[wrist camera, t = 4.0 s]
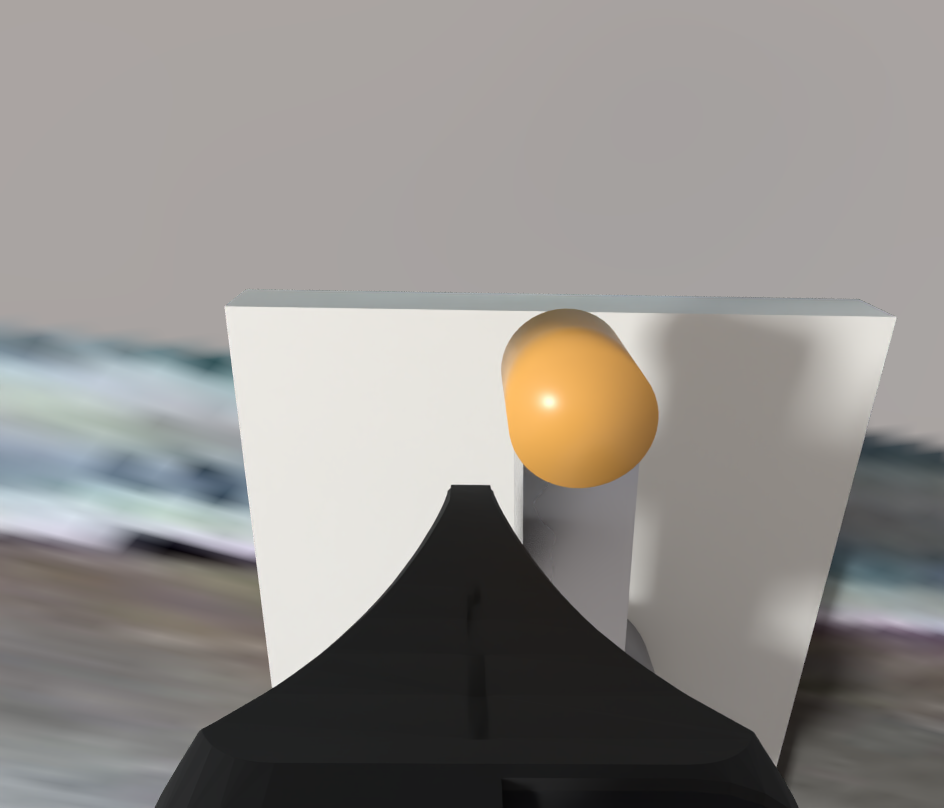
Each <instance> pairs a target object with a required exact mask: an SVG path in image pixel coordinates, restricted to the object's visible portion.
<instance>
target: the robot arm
mask: <svg viewBox="0 0 944 808" xmlns="http://www.w3.org/2000/svg"><path fill="white" fill-rule="evenodd" d="M155 808H799V807H798V805H797V803H796V801H795V799H794V797H793V795H792V793H791V792H790V790H789V788H788V786H787V785H786V783H785V781H784V780H783V778H782V776H781V774H780V773H779V771H778V769H777V768H776V766H775V765H774V763H773V761H772V760H771V758H770V757H769V755H768V754H767V752H766V750H765V749H764V747H763V746H762V744H761V742H760V741H759V739H758V738H757V736H756V734H755V733H754V732H753V731H751V730H750V729H748V728H746V727H744V726H742V725H741V724H739V723H737V722H735V721H733V720H732V719H730V718H728V717H726V716H724V715H723V714H721V713H719V712H717V711H715V710H714V709H712V708H710V707H708V706H706V705H705V704H703V703H701V702H699V701H697V700H696V699H694V698H692V697H690V696H688V695H687V694H685V693H684V692H682V691H680V690H679V689H677V688H676V687H674V686H673V685H671V684H670V683H668V682H667V681H665V680H664V679H662V678H661V677H659V676H658V675H656V674H655V673H653V672H652V671H650V670H649V669H647V668H646V667H644V666H643V665H642V664H640V663H639V662H638V661H636V660H635V659H633V658H632V657H631V656H629V655H628V654H627V653H626V652H624V651H623V650H622V649H621V648H619V647H618V646H617V645H616V644H614V643H613V642H612V641H611V640H609V639H608V638H607V637H606V636H605V635H603V634H602V633H601V632H600V631H598V630H597V629H596V628H595V627H594V626H593V625H592V624H591V623H590V622H588V621H587V620H586V619H585V618H584V617H583V616H582V615H581V614H580V613H579V612H578V611H577V610H576V609H575V608H574V607H573V606H572V605H571V604H570V603H569V601H568V600H567V599H566V598H565V597H564V596H563V595H562V594H561V593H560V592H559V590H558V589H557V588H556V587H555V586H554V585H553V584H552V582H551V581H550V580H549V579H548V577H547V576H546V575H545V574H544V572H543V571H542V570H541V569H540V568H539V566H538V565H537V564H536V562H535V561H534V560H533V558H532V557H531V556H530V554H529V553H528V551H527V550H526V548H525V547H524V545H523V544H522V543H521V541H520V540H519V538H518V537H517V535H516V534H515V532H514V531H513V529H512V527H511V526H510V524H509V522H508V521H507V519H506V517H505V515H504V514H503V512H502V510H501V508H500V506H499V504H498V502H497V500H496V497H495V495H494V492H493V490H492V489H491V486H490V485H451V488H450V489H449V490H448V491H447V496H446V498H445V501H444V503H443V506H442V508H441V510H440V512H439V514H438V516H437V518H436V519H435V521H434V523H433V525H432V527H431V528H430V530H429V531H428V533H427V535H426V536H425V538H424V540H423V541H422V543H421V544H420V546H419V548H418V549H417V550H416V552H415V553H414V555H413V556H412V557H411V559H410V560H409V561H408V563H407V564H406V566H405V567H404V568H403V570H402V571H401V572H400V574H399V575H398V576H397V578H396V579H395V580H394V581H393V583H392V584H391V585H390V586H389V587H388V589H387V590H386V591H385V592H384V593H383V594H382V595H381V597H380V598H379V599H378V600H377V601H376V602H375V603H374V604H373V605H372V606H371V607H370V608H369V609H368V611H367V612H366V613H365V614H364V615H363V616H362V617H361V618H360V619H359V620H358V621H356V622H355V623H354V624H353V625H352V626H351V627H350V628H349V629H348V630H347V631H346V632H345V633H344V634H343V635H341V636H340V637H339V638H338V639H337V640H336V641H335V642H334V643H333V644H331V645H330V646H329V647H328V648H327V649H326V650H324V651H323V652H322V653H321V654H319V655H318V656H317V657H316V658H314V659H313V660H312V661H310V662H309V663H308V664H306V665H305V666H303V667H302V668H301V669H299V670H298V671H297V672H295V673H294V674H293V675H291V676H290V677H288V678H287V679H285V680H284V681H283V682H281V683H280V684H278V685H277V686H275V687H274V688H272V689H270V690H269V691H267V692H266V693H264V694H263V695H261V696H259V697H257V698H256V699H254V700H252V701H251V702H249V703H247V704H245V705H244V706H242V707H240V708H239V709H237V710H235V711H233V712H232V713H230V714H228V715H227V716H225V717H223V718H221V719H220V720H218V721H216V722H214V723H213V724H211V725H209V726H207V727H205V728H203V729H201V730H200V731H199V732H198V734H197V736H196V737H195V739H194V741H193V742H192V744H191V745H190V747H189V749H188V750H187V752H186V754H185V755H184V757H183V759H182V760H181V762H180V763H179V765H178V767H177V769H176V770H175V772H174V774H173V775H172V777H171V779H170V780H169V782H168V784H167V785H166V787H165V789H164V790H163V792H162V794H161V796H160V798H159V800H158V802H157V804H156V806H155Z"/></svg>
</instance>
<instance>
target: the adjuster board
mask: <svg viewBox="0 0 944 808" xmlns="http://www.w3.org/2000/svg"><path fill="white" fill-rule="evenodd" d="M564 308H566V309H577V310H582V311H586V312H589V313H591V314H593V315H595V316H597V317H599V318H600V319H602V320H603V321H605V322H606V323H607V324H608V325H609V326H610V327H611V328H612V329H613V330H614V332H615V333H616V335H617V336H618V338H619V339H620V341H621V342H622V343H623V345H624V346H625V348H626V349H627V351H628V352H629V354H630V355H631V357H632V358H633V360H634V361H635V363H636V364H637V366H638V367H639V368H640V370H641V371H642V373H643V374H644V376H645V377H646V379H647V380H648V382H649V383H650V385H651V387H652V389H653V391H654V393H655V396H656V400H657V403H658V411H659V420H658V427H657V432H656V435H655V438H654V440H653V443H652V445H651V447H650V448H649V450H648V452H647V453H646V455H645V456H644V457H643V458H642V460H641V461H640V462H639V473H638V486H637V499H636V512H635V525H634V538H633V551H632V564H631V577H630V590H629V603H628V616H627V629H626V642H625V652H626V653H627V654H628V655H629V656H631V657H632V658H633V659H635V660H636V661H638V662H639V663H640V664H642V665H643V666H644V667H646V668H647V669H649V670H650V671H652V672H653V673H655V674H656V675H658V676H659V677H661V678H662V679H664V680H665V681H667V682H668V683H670V684H671V685H673V686H674V687H676V688H677V689H679V690H680V691H682V692H684V693H685V694H687V695H688V696H690V697H692V698H694V699H696V700H697V701H699V702H701V703H703V704H705V705H706V706H708V707H710V708H712V709H714V710H715V711H717V712H719V713H721V714H723V715H724V716H726V717H728V718H730V719H732V720H733V721H735V722H737V723H739V724H741V725H742V726H744V727H746V728H748V729H750V730H751V731H753V732H754V733H755V734H756V736H757V738H758V739H759V741H760V742H761V744H762V746H763V747H764V749H765V750H766V752H767V754H768V755H769V757H770V758H771V760H772V761H773V763H774V765H775V766H776V767H777V763H778V759H779V756H780V752H781V748H782V744H783V741H784V737H785V733H786V729H787V726H788V722H789V718H790V715H791V711H792V707H793V703H794V700H795V696H796V692H797V688H798V685H799V681H800V677H801V673H802V670H803V666H804V662H805V659H806V655H807V651H808V647H809V644H810V640H811V636H812V632H813V629H814V625H815V621H816V617H817V614H818V610H819V606H820V602H821V599H822V595H823V591H824V588H825V584H826V580H827V576H828V573H829V569H830V565H831V561H832V558H833V554H834V550H835V546H836V543H837V539H838V535H839V532H840V528H841V524H842V520H843V517H844V513H845V509H846V505H847V502H848V498H849V494H850V490H851V487H852V483H853V479H854V475H855V472H856V468H857V464H858V461H859V457H860V453H861V449H862V446H863V442H864V438H865V434H866V431H867V427H868V423H869V419H870V416H871V412H872V408H873V404H874V400H875V397H876V393H877V390H878V385H879V382H880V378H881V375H882V371H883V367H884V363H885V359H886V356H887V352H888V348H889V345H890V341H891V337H892V334H893V329H894V326H895V322H896V319H897V317H896V316H894V315H892V314H889V313H887V312H885V311H883V310H881V309H879V308H877V307H875V306H873V305H871V304H868V303H866V302H864V301H862V300H860V299H821V298H818V299H817V298H761V297H760V298H759V297H698V296H638V295H636V296H635V295H575V294H571V295H570V294H514V293H513V294H511V293H452V292H450V293H449V292H448V293H447V292H389V291H330V290H329V291H328V290H266V289H261V290H260V289H246V290H244V291H243V292H242V293H241V294H239V295H238V296H237V297H236V298H234V299H233V300H232V301H231V302H229V303H228V304H227V305H226V306H225V314H226V322H227V330H228V338H229V346H230V354H231V362H232V370H233V378H234V386H235V394H236V402H237V410H238V418H239V426H240V434H241V442H242V450H243V458H244V466H245V474H246V482H247V490H248V498H249V506H250V514H251V522H252V530H253V538H254V546H255V554H256V562H257V570H258V578H259V586H260V594H261V602H262V610H263V618H264V626H265V634H266V642H267V650H268V658H269V666H270V674H271V682H272V688H274V687H275V686H277V685H278V684H280V683H281V682H283V681H284V680H285V679H287V678H288V677H290V676H291V675H293V674H294V673H295V672H297V671H298V670H299V669H301V668H302V667H303V666H305V665H306V664H308V663H309V662H310V661H312V660H313V659H314V658H316V657H317V656H318V655H319V654H321V653H322V652H323V651H324V650H326V649H327V648H328V647H329V646H330V645H331V644H333V643H334V642H335V641H336V640H337V639H338V638H339V637H340V636H341V635H343V634H344V633H345V632H346V631H347V630H348V629H349V628H350V627H351V626H352V625H353V624H354V623H355V622H356V621H358V620H359V619H360V618H361V617H362V616H363V615H364V614H365V613H366V612H367V611H368V609H369V608H370V607H371V606H372V605H373V604H374V603H375V602H376V601H377V600H378V599H379V598H380V597H381V595H382V594H383V593H384V592H385V591H386V590H387V589H388V587H389V586H390V585H391V584H392V583H393V581H394V580H395V579H396V578H397V576H398V575H399V574H400V572H401V571H402V570H403V568H404V567H405V566H406V564H407V563H408V561H409V560H410V559H411V557H412V556H413V555H414V553H415V552H416V550H417V549H418V548H419V546H420V544H421V543H422V541H423V540H424V538H425V536H426V535H427V533H428V531H429V530H430V528H431V527H432V525H433V523H434V521H435V519H436V518H437V516H438V514H439V512H440V510H441V508H442V506H443V503H444V501H445V498H446V496H447V491H448V490H449V489H450V488H451V485H490V486H491V489H492V490H493V492H494V495H495V497H496V500H497V502H498V504H499V506H500V508H501V510H502V512H503V514H504V515H505V517H506V519H507V521H508V522H509V524H510V526H511V527H512V529H513V531H514V448H513V446H512V443H511V439H510V435H509V429H508V421H507V414H506V406H505V399H504V391H503V384H502V376H501V363H502V358H503V354H504V351H505V348H506V346H507V344H508V342H509V340H510V339H511V337H512V336H513V334H514V333H515V332H516V331H517V330H518V329H519V328H520V327H521V326H522V325H523V324H524V323H525V322H527V321H528V320H530V319H531V318H533V317H535V316H537V315H539V314H541V313H544V312H547V311H550V310H555V309H564Z"/></svg>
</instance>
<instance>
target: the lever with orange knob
mask: <svg viewBox="0 0 944 808" xmlns="http://www.w3.org/2000/svg"><path fill="white" fill-rule="evenodd" d="M501 376H502V384H503V391H504V399H505V406H506V414H507V421H508V429H509V435H510V439H511V443H512V446H513V448H514V532H515V534H516V535H517V537H518V538H519V540H520V541H521V543H522V544H523V545H524V547H525V548H526V550H527V551H528V553H529V554H530V556H531V557H532V558H533V560H534V561H535V562H536V564H537V565H538V566H539V568H540V569H541V570H542V571H543V572H544V574H545V575H546V576H547V577H548V579H549V580H550V581H551V582H552V584H553V585H554V586H555V587H556V588H557V589H558V590H559V592H560V593H561V594H562V595H563V596H564V597H565V598H566V599H567V600H568V601H569V603H570V604H571V605H572V606H573V607H574V608H575V609H576V610H577V611H578V612H579V613H580V614H581V615H582V616H583V617H584V618H585V619H586V620H587V621H588V622H590V623H591V624H592V625H593V626H594V627H595V628H596V629H597V630H598V631H600V632H601V633H602V634H603V635H605V636H606V637H607V638H608V639H609V640H611V641H612V642H613V643H614V644H616V645H617V646H618V647H619V648H621V649H622V650H623V651H624V652H625V642H626V629H627V616H628V603H629V590H630V577H631V564H632V551H633V538H634V525H635V512H636V499H637V486H638V473H639V462H640V461H641V460H642V458H643V457H644V456H645V455H646V453H647V452H648V450H649V448H650V447H651V445H652V443H653V440H654V438H655V435H656V432H657V427H658V420H659V411H658V403H657V400H656V396H655V393H654V391H653V389H652V387H651V385H650V383H649V382H648V380H647V379H646V377H645V376H644V374H643V373H642V371H641V370H640V368H639V367H638V366H637V364H636V363H635V361H634V360H633V358H632V357H631V355H630V354H629V352H628V351H627V349H626V348H625V346H624V345H623V343H622V342H621V341H620V339H619V338H618V336H617V335H616V333H615V332H614V330H613V329H612V328H611V327H610V326H609V325H608V324H607V323H606V322H605V321H603V320H602V319H600V318H599V317H597V316H595V315H593V314H591V313H589V312H586V311H582V310H577V309H566V308H564V309H555V310H550V311H547V312H544V313H541V314H539V315H537V316H535V317H533V318H531V319H530V320H528V321H527V322H525V323H524V324H523V325H522V326H521V327H520V328H519V329H518V330H517V331H516V332H515V333H514V334H513V336H512V337H511V339H510V340H509V342H508V344H507V346H506V348H505V351H504V354H503V358H502V363H501Z"/></svg>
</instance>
